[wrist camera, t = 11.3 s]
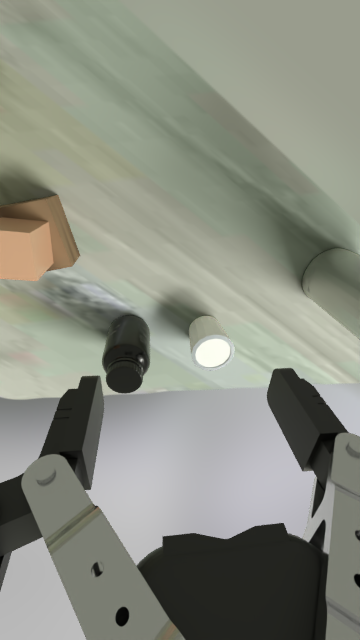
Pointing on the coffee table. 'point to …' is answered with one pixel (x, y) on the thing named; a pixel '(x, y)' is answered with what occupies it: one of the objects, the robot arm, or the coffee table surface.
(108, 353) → the supplement bottle
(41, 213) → the walnut box
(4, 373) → the coffee table surface
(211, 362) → the white cylinder
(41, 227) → the tan block
